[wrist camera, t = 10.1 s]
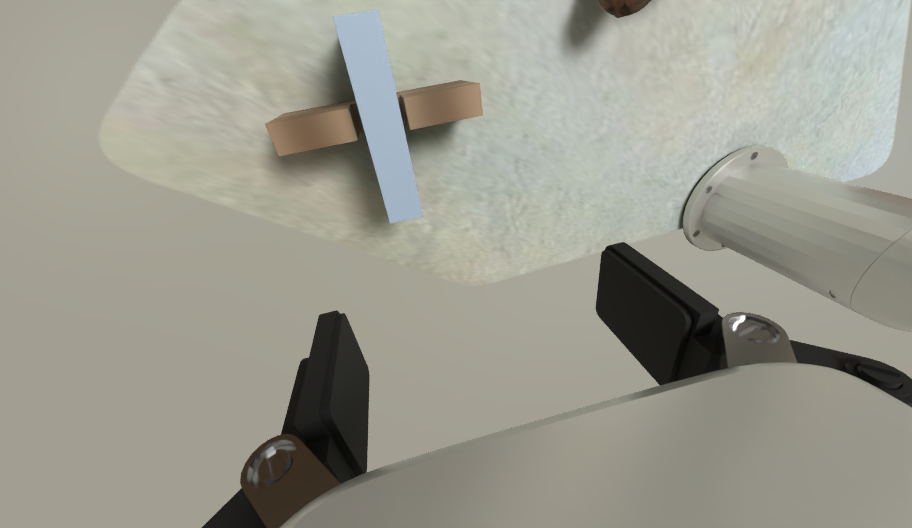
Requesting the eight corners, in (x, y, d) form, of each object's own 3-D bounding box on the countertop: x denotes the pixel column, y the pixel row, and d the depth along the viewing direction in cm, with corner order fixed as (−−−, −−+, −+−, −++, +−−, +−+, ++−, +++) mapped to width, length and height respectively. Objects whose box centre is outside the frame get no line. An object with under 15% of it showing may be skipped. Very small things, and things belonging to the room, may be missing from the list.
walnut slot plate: (460, 80, 27) (479, 83, 22) (464, 107, 28) (482, 115, 23) (284, 113, 25) (265, 124, 21) (294, 140, 26) (279, 156, 22)
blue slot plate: (342, 29, 23) (332, 16, 17) (375, 24, 24) (378, 9, 17) (385, 190, 30) (390, 223, 24) (411, 184, 30) (422, 215, 24)
